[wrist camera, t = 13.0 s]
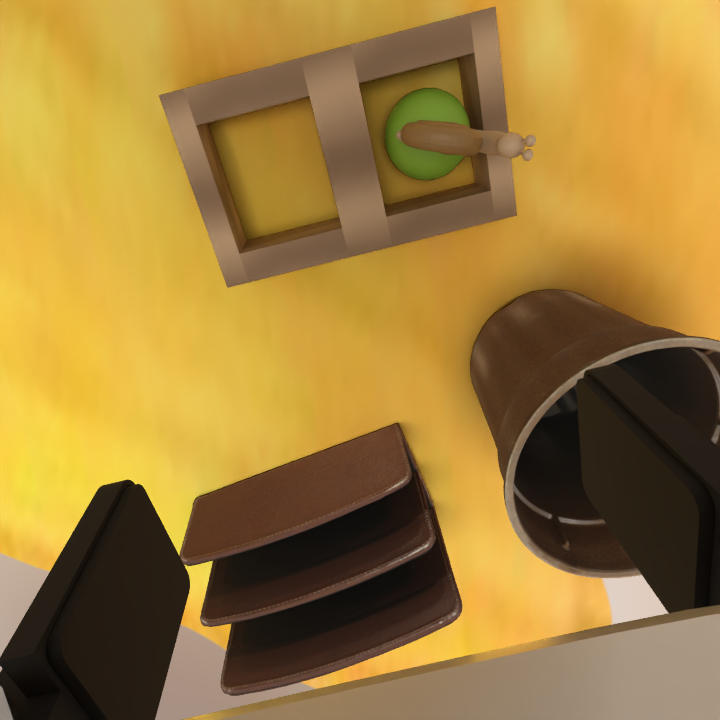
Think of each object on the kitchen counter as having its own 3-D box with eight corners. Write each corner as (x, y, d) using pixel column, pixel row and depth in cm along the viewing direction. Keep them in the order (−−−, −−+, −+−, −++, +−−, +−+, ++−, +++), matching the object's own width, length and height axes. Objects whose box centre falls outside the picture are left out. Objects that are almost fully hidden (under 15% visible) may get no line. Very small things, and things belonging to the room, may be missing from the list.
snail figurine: (466, 178, 38) (525, 205, 27) (377, 172, 38) (401, 197, 27) (478, 94, 36) (548, 86, 25) (384, 86, 35) (413, 75, 24)
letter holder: (433, 502, 51) (472, 633, 38) (244, 569, 53) (220, 716, 40) (398, 419, 47) (428, 536, 34) (193, 496, 48) (149, 633, 36)
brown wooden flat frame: (175, 97, 35) (158, 95, 31) (476, 17, 34) (495, 6, 30) (235, 271, 40) (227, 287, 36) (498, 205, 39) (516, 215, 35)
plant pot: (449, 262, 41) (523, 347, 26) (654, 255, 42) (835, 333, 27) (440, 441, 48) (493, 588, 33) (615, 432, 49) (743, 569, 34)
